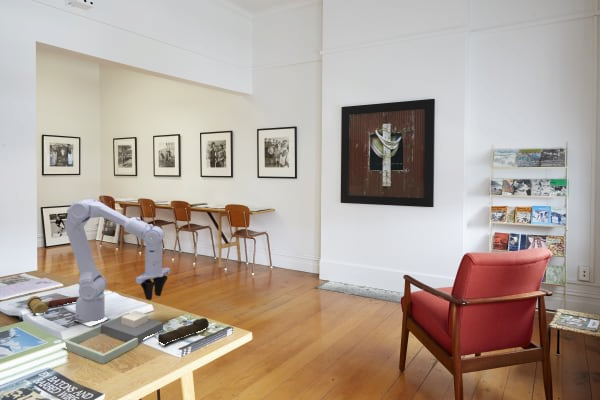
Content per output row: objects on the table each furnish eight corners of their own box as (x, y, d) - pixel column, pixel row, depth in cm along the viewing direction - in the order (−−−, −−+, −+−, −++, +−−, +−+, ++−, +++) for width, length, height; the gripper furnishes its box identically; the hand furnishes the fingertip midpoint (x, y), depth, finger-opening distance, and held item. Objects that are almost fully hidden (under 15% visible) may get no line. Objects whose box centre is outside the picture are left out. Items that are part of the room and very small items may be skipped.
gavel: (86, 289, 169) (95, 296, 162) (85, 299, 170) (94, 307, 163) (26, 296, 154) (34, 305, 147) (26, 308, 154) (33, 317, 148)
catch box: (62, 348, 127) (62, 340, 126) (98, 332, 138) (98, 325, 138) (103, 364, 119) (103, 355, 119) (138, 345, 131) (138, 338, 131)
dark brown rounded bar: (163, 348, 131) (163, 334, 130) (157, 344, 133) (157, 330, 133) (212, 331, 144) (213, 319, 144) (206, 327, 147) (206, 315, 147)
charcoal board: (101, 333, 138) (100, 324, 138) (129, 320, 149) (129, 312, 148) (135, 344, 131) (135, 336, 131) (162, 330, 142) (162, 322, 142)
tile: (121, 323, 139) (121, 316, 139) (135, 317, 145) (135, 310, 144) (134, 327, 137) (134, 320, 136) (147, 321, 142) (147, 314, 142)
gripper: (146, 267, 138) (146, 306, 139) (176, 258, 151) (175, 293, 152) (131, 264, 141) (131, 301, 142) (162, 255, 154) (161, 289, 155)
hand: (153, 297), depth 147 cm, fingers open, 4 cm apart
